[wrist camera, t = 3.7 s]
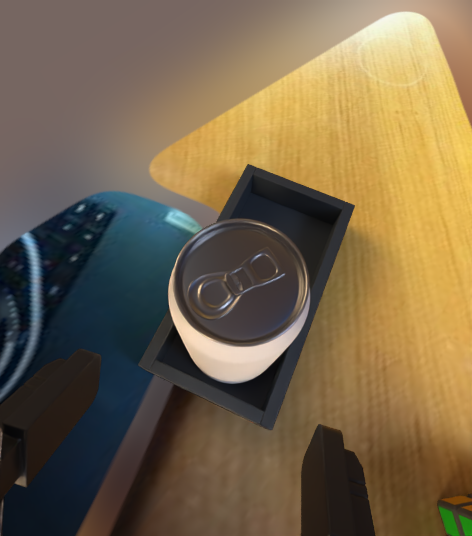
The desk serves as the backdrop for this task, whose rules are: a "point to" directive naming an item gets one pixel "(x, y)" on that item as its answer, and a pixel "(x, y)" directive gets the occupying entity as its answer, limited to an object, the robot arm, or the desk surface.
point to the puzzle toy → (457, 515)
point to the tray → (319, 267)
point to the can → (238, 298)
